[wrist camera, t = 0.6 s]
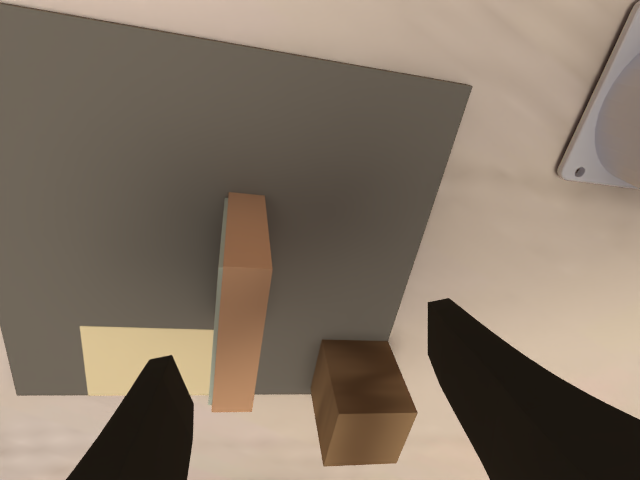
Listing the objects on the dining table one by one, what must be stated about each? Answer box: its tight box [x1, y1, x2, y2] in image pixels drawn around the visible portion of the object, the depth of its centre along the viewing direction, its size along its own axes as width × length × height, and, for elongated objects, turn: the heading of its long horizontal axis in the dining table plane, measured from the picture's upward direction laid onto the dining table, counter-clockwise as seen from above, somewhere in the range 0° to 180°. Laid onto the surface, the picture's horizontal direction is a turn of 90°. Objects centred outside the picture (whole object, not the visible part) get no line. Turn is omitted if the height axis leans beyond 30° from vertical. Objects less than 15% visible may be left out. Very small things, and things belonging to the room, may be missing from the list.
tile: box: [208, 192, 273, 412], centre depth 18 cm, size 2×7×6 cm, turn 170°
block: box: [310, 339, 417, 466], centre depth 23 cm, size 4×4×5 cm
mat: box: [0, 3, 472, 396], centre depth 21 cm, size 20×19×1 cm
